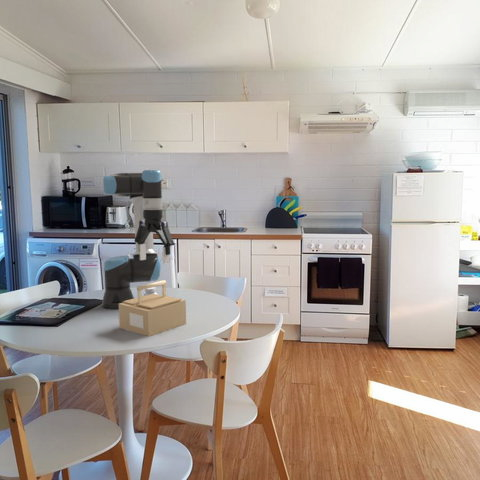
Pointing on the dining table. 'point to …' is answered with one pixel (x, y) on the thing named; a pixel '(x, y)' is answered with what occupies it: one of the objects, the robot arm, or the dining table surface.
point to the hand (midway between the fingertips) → (154, 261)
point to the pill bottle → (150, 291)
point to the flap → (158, 301)
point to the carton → (151, 316)
